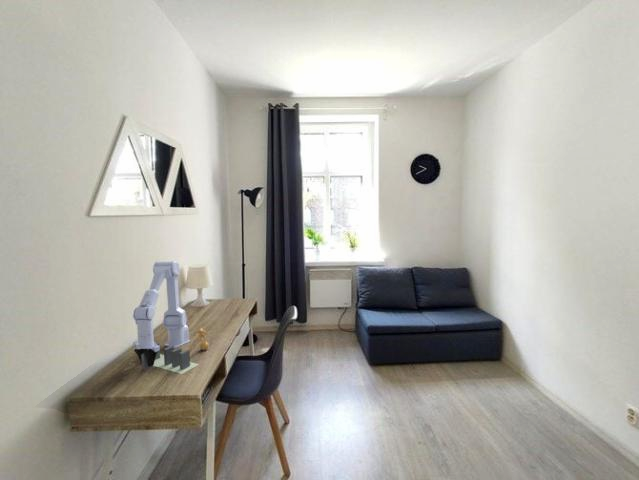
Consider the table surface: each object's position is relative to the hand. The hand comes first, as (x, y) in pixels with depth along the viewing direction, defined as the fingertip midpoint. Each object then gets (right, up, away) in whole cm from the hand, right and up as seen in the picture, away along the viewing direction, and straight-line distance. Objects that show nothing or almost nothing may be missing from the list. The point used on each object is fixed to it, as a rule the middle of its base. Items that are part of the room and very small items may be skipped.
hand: (147, 364), depth 132 cm
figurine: (+18, 0, +17) cm, 24 cm away
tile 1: (-1, -1, +8) cm, 9 cm away
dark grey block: (+12, -1, +2) cm, 12 cm away
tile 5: (+16, -1, 0) cm, 16 cm away
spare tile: (0, -2, 0) cm, 2 cm away
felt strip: (+7, -1, +4) cm, 9 cm away
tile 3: (+7, -1, +4) cm, 9 cm away
